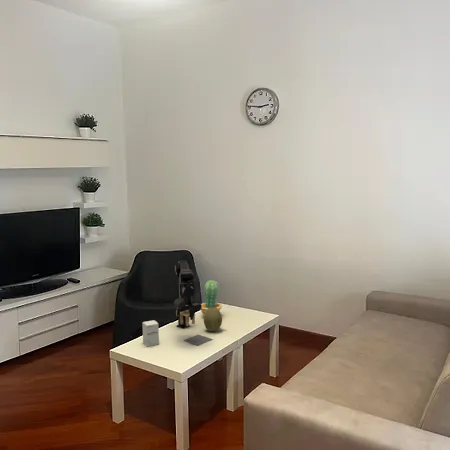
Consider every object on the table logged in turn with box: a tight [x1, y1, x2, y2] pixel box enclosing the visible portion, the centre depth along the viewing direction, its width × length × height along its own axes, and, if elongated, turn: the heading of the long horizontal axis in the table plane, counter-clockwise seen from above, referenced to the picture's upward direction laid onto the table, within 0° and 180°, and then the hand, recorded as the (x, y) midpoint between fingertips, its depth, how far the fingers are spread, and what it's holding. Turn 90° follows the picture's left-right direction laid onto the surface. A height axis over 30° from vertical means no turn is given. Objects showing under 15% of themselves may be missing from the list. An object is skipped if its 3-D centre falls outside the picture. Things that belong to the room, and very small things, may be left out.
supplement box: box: [142, 319, 160, 348], centre depth 270 cm, size 7×7×13 cm
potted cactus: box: [200, 279, 223, 316], centre depth 315 cm, size 15×15×25 cm
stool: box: [180, 310, 196, 327], centre depth 274 cm, size 6×6×7 cm
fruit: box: [203, 307, 223, 332], centre depth 290 cm, size 11×11×15 cm
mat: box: [183, 334, 214, 347], centre depth 275 cm, size 12×12×1 cm
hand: (187, 318), depth 274 cm, fingers closed on stool, 6 cm apart
